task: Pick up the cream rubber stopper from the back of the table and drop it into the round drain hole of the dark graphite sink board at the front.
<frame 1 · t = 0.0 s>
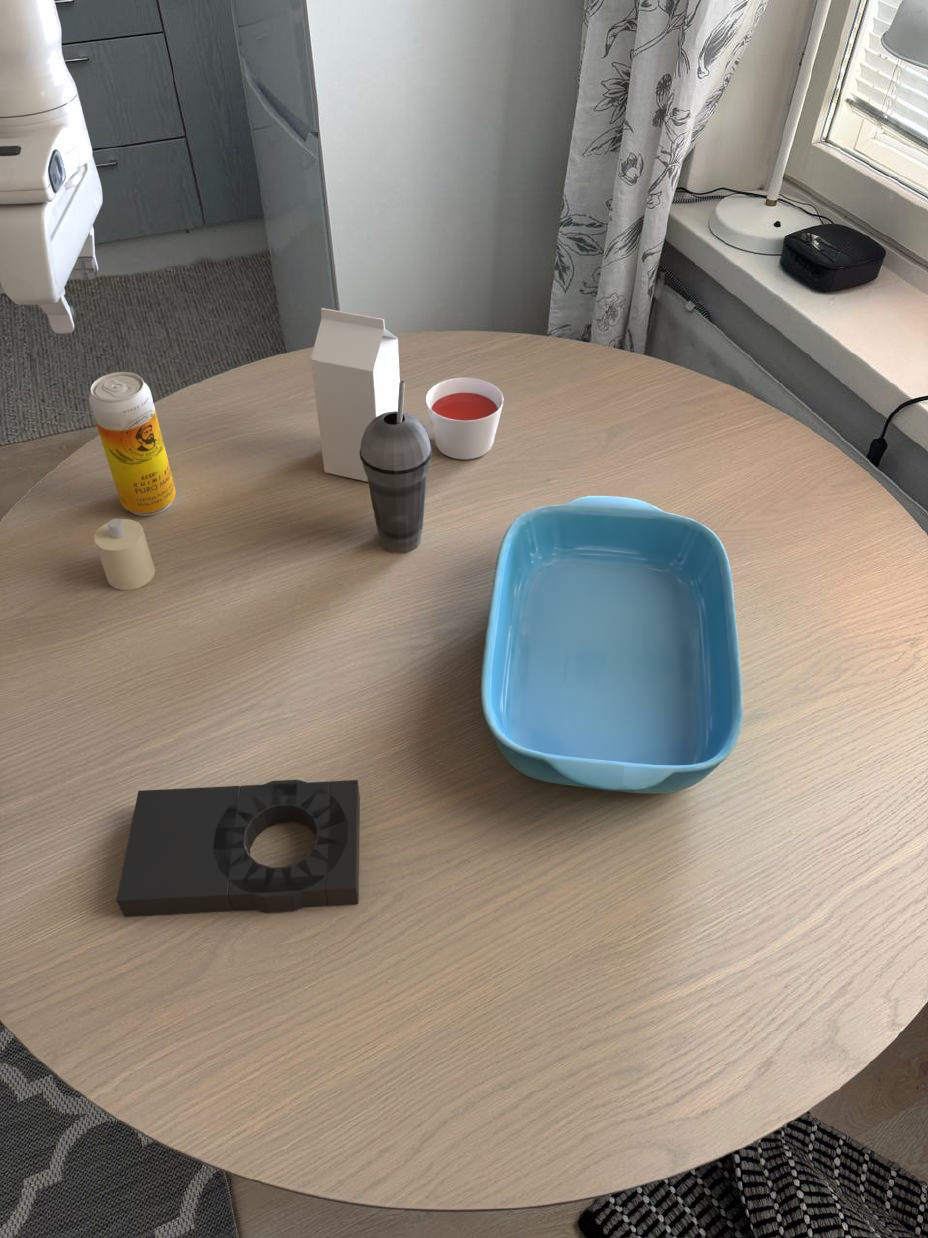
hand: (77, 301, 87), 28 cm above the table, tool pointing down, fingers open, 8 cm apart
milk carton: (364, 463, 117), on the table
beer can: (150, 502, 112), on the table
casserole dish: (604, 671, 95), on the table
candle: (464, 445, 120), on the table
sink board: (247, 854, 80), on the table
stopper: (131, 574, 103), on the table
beverage cup: (400, 540, 108), on the table
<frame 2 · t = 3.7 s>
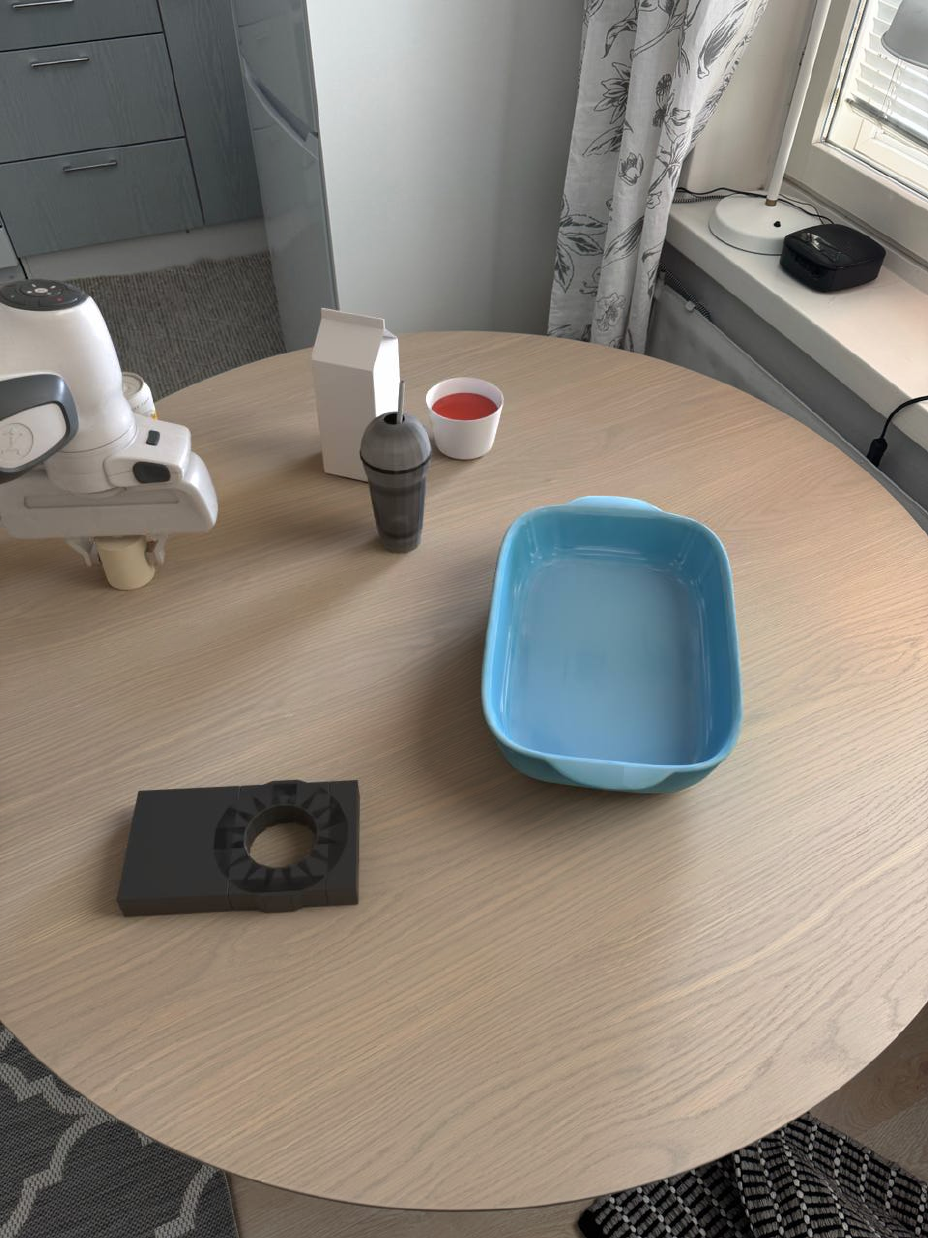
hand: (127, 560, 102), 2 cm above the table, tool pointing down, fingers closed on stopper, 5 cm apart
stopper: (131, 574, 103), on the table, touching gripper
everything else where it was.
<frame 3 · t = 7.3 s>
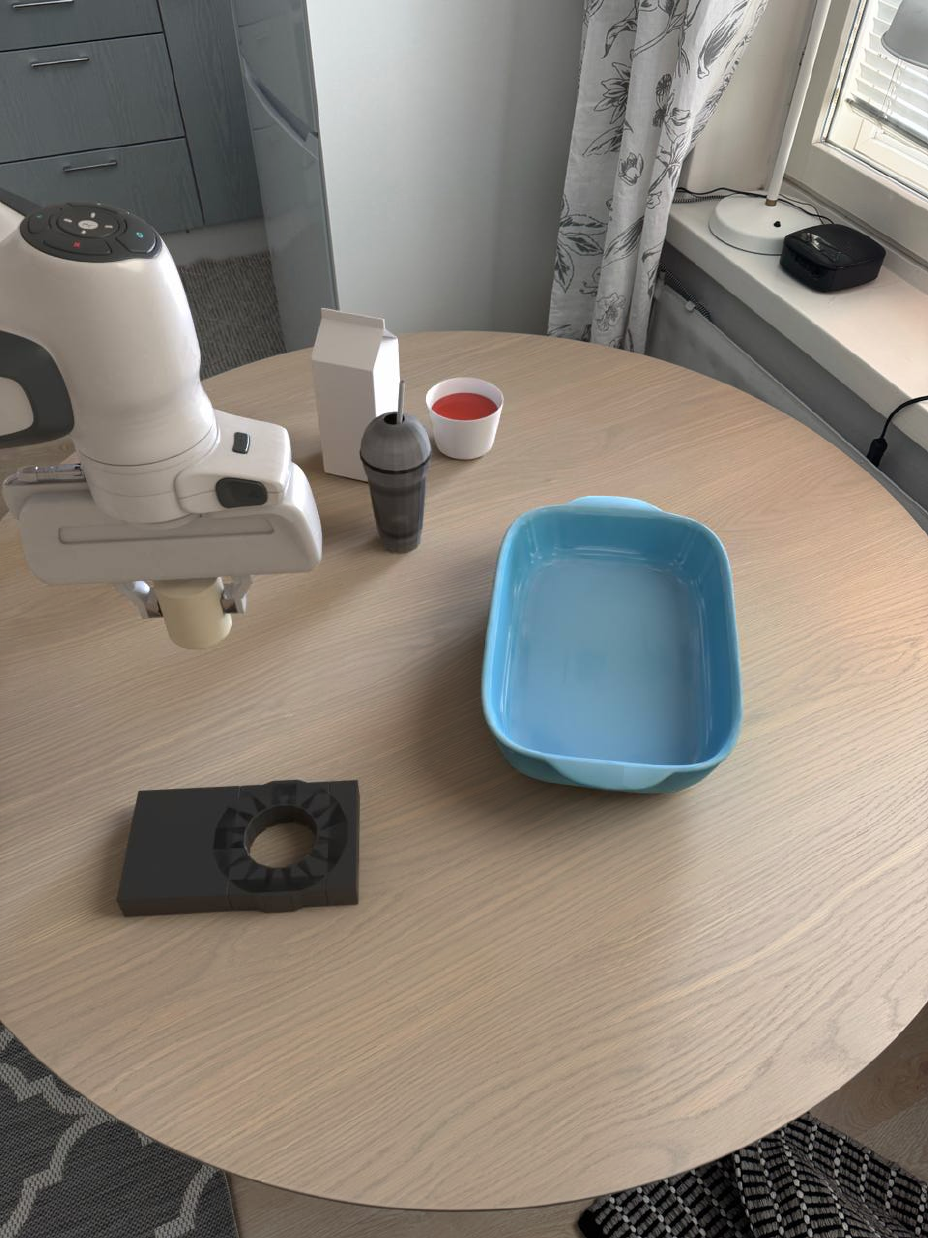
hand: (196, 610, 75), 18 cm above the table, tool pointing down, fingers closed on stopper, 5 cm apart
stopper: (200, 627, 77), point 16 cm above the table, touching gripper
everything else where it was.
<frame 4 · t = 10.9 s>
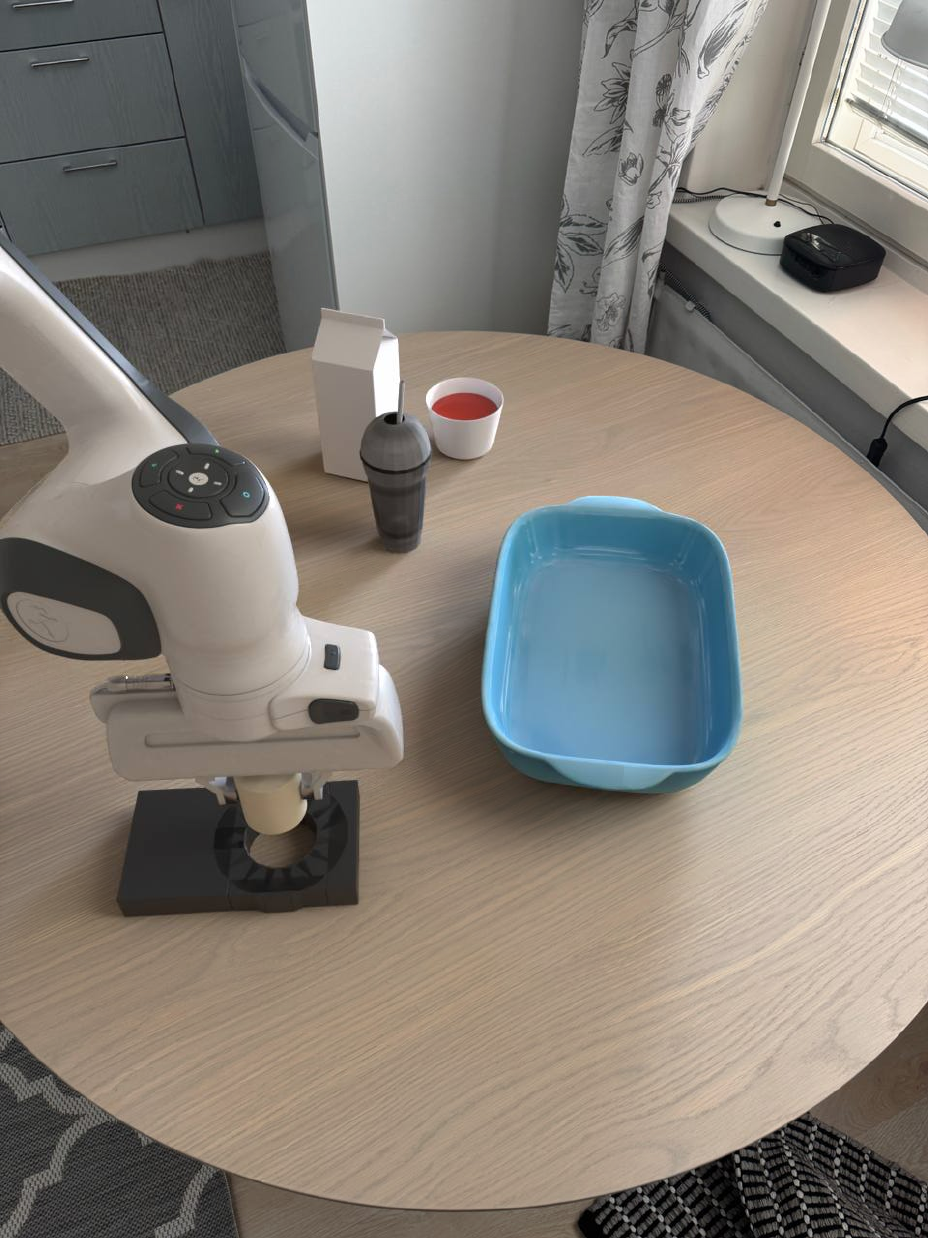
hand: (272, 794, 75), 8 cm above the table, tool pointing down, fingers closed on stopper, 5 cm apart
stopper: (275, 808, 76), point 6 cm above the table, touching gripper
everything else where it was.
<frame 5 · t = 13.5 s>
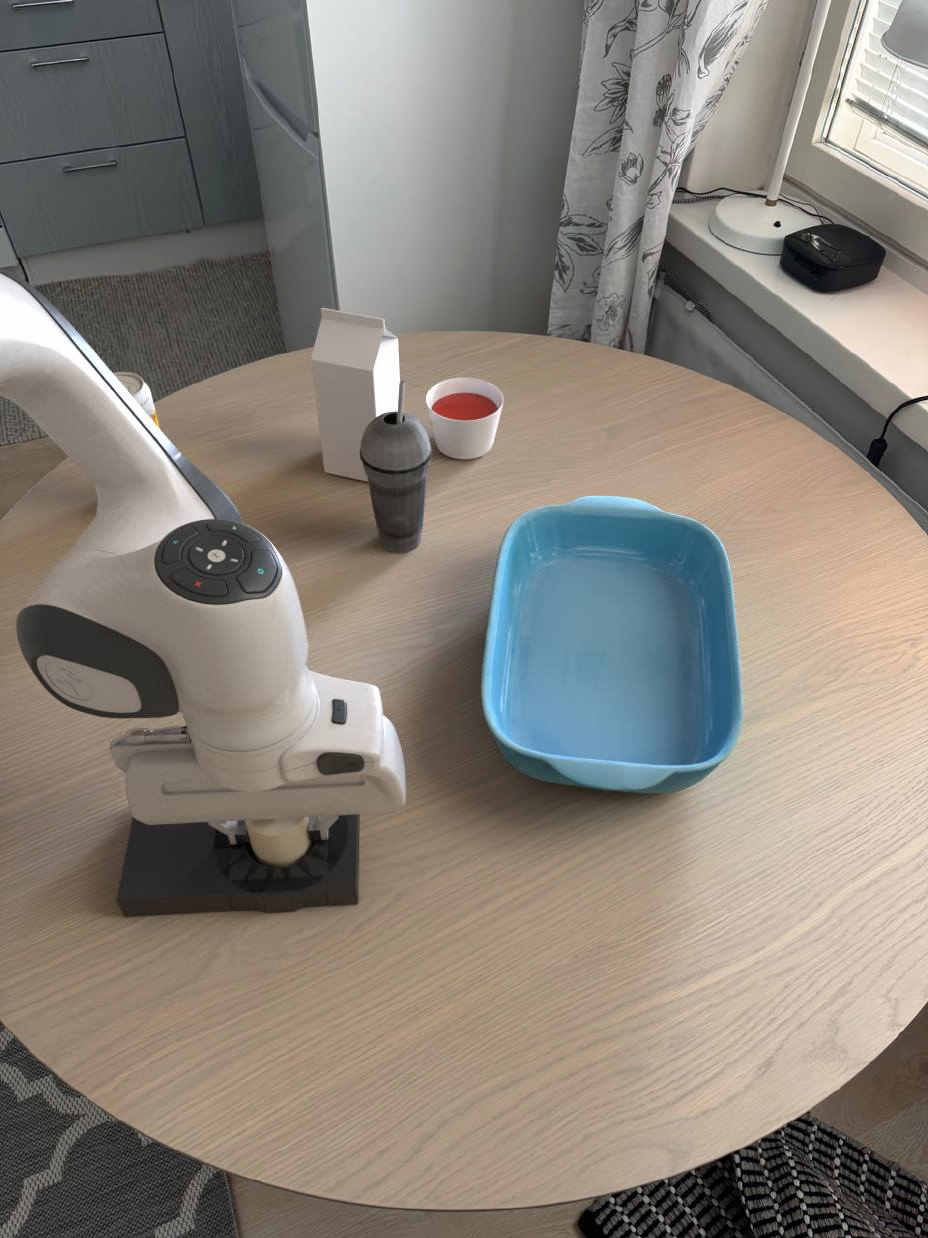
hand: (281, 834, 79), 3 cm above the table, tool pointing down, fingers closed on stopper, 5 cm apart
stopper: (283, 847, 80), point 1 cm above the table, touching gripper
everything else where it was.
when the fingers open (3 cm above the table, at t = 18.1 s): stopper stays where it is, resting in sink board.
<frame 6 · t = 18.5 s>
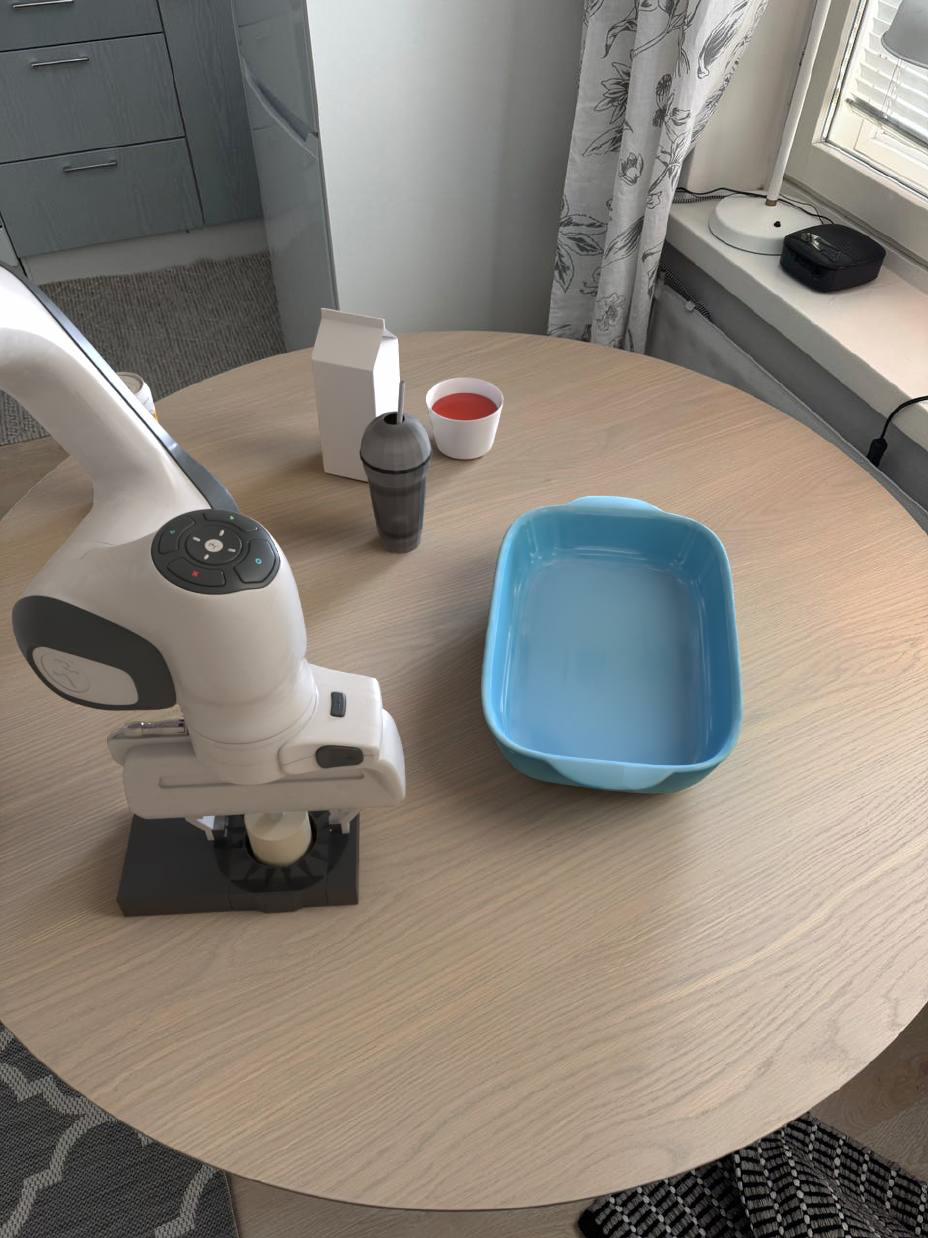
hand: (280, 829, 78), 3 cm above the table, tool pointing down, fingers open, 8 cm apart
stopper: (284, 851, 81), resting in sink board
everything else where it was.
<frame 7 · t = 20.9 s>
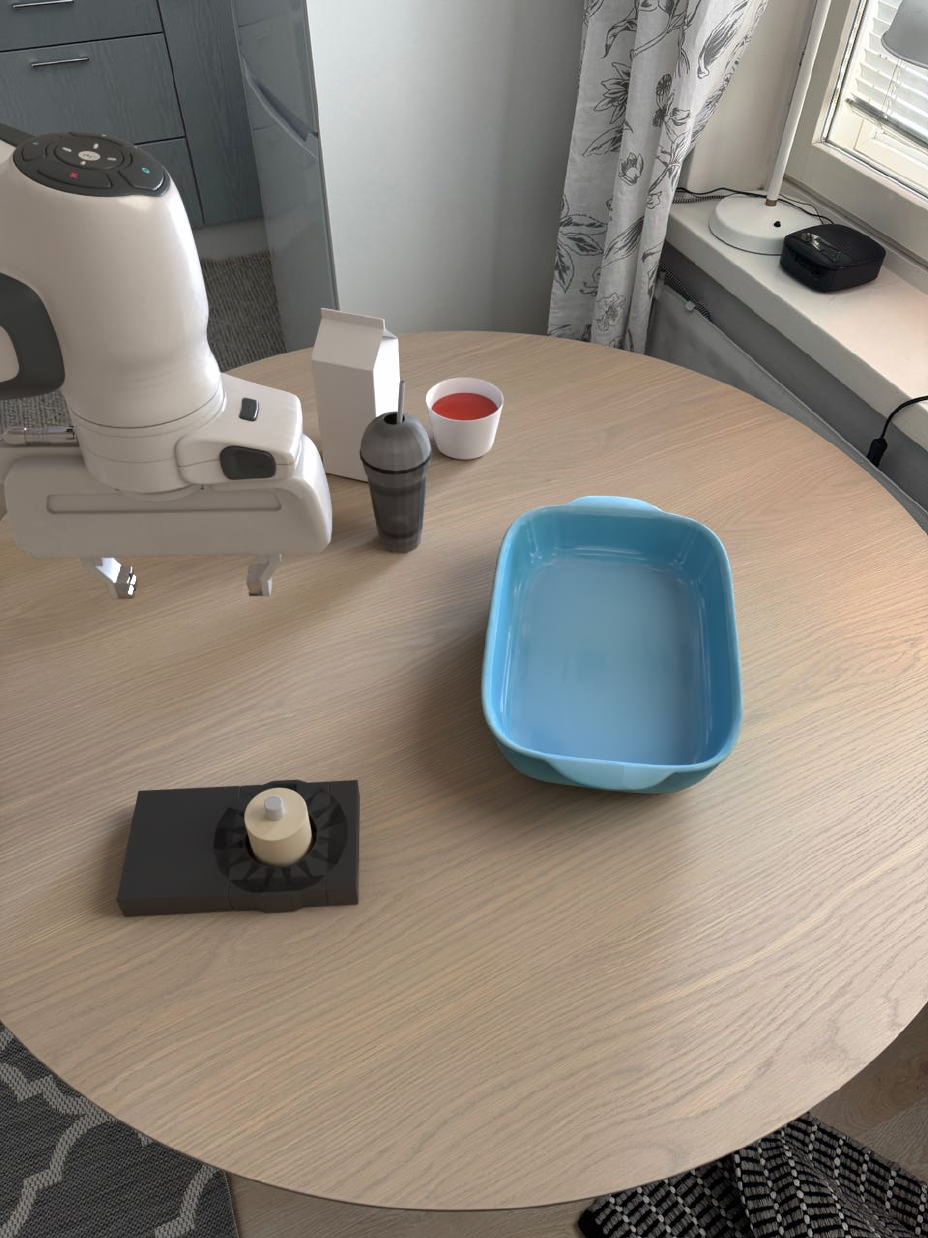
hand: (193, 591, 70), 22 cm above the table, tool pointing down, fingers open, 8 cm apart
nothing on the table moved.
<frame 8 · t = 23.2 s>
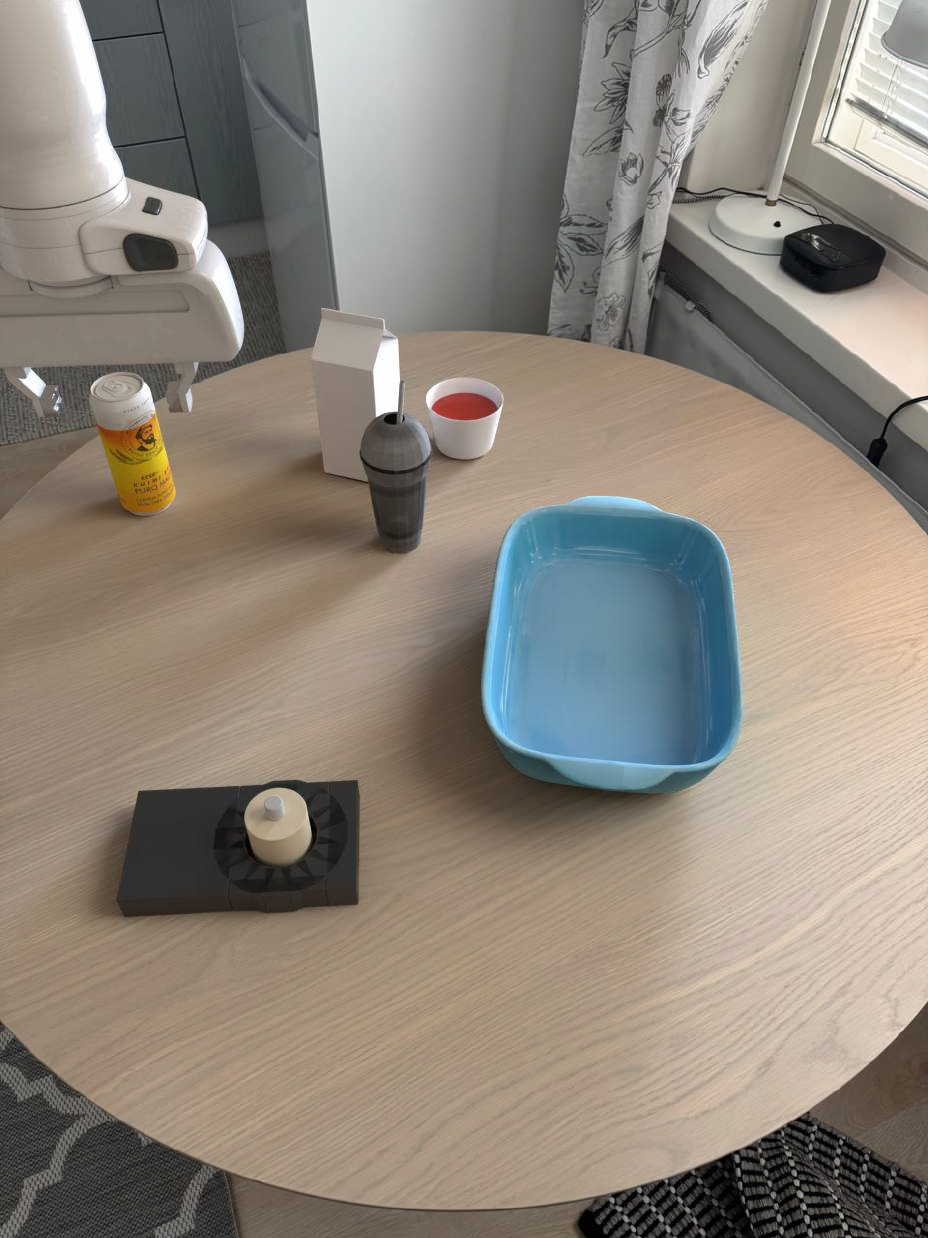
hand: (117, 410, 73), 29 cm above the table, tool pointing down, fingers open, 8 cm apart
nothing on the table moved.
at the end: stopper 0.1 cm from the target spot in the sink board, point 0.0 cm above the sink board's base; stopper tilted 0° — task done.
